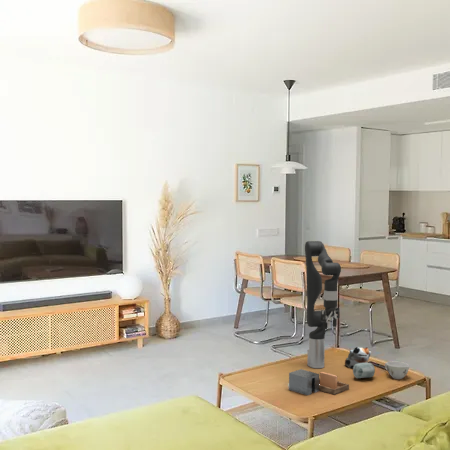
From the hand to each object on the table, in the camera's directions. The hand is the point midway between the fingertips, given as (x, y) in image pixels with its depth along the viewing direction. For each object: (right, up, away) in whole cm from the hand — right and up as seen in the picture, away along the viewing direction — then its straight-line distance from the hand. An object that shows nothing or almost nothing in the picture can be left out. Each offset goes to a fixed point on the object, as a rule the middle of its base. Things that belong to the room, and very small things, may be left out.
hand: (329, 327), depth 301 cm
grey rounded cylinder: (+18, -30, +3) cm, 35 cm away
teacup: (+39, -30, +8) cm, 50 cm away
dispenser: (-17, -30, -16) cm, 38 cm away
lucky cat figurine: (+22, -29, +26) cm, 45 cm away
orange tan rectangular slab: (-3, -29, -12) cm, 32 cm away
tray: (-3, -30, -13) cm, 33 cm away
